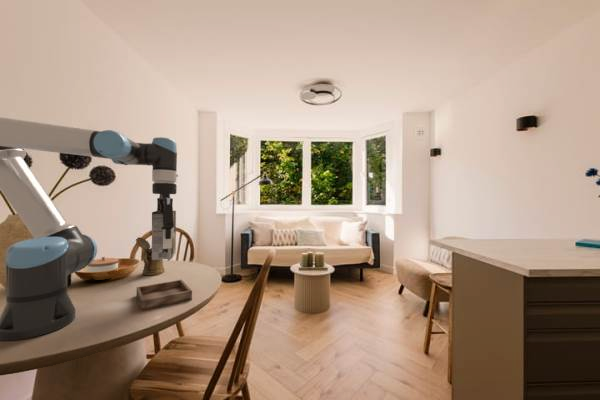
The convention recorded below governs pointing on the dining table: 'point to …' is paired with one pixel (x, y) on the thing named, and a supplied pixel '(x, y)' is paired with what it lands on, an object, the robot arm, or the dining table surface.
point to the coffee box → (157, 237)
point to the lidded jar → (103, 264)
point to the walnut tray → (163, 294)
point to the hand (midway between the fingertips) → (164, 245)
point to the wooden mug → (149, 259)
